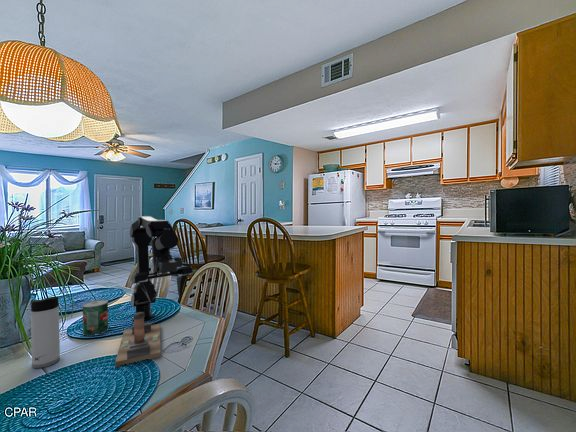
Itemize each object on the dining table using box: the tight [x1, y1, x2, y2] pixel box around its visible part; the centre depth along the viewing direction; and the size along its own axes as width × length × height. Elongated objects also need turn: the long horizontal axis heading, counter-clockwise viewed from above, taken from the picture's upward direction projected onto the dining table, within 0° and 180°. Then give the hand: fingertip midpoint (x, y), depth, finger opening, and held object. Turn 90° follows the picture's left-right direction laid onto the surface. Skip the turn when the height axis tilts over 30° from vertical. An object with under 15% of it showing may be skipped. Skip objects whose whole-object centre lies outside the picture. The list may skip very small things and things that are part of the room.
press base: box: [114, 322, 161, 368], centre depth 91 cm, size 24×12×4 cm, turn 26°
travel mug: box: [30, 296, 61, 369], centre depth 80 cm, size 6×7×20 cm
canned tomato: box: [82, 299, 109, 336], centre depth 101 cm, size 8×8×11 cm
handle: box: [130, 312, 149, 348], centre depth 85 cm, size 5×5×11 cm
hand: (166, 299), depth 90 cm, fingers open, 9 cm apart
